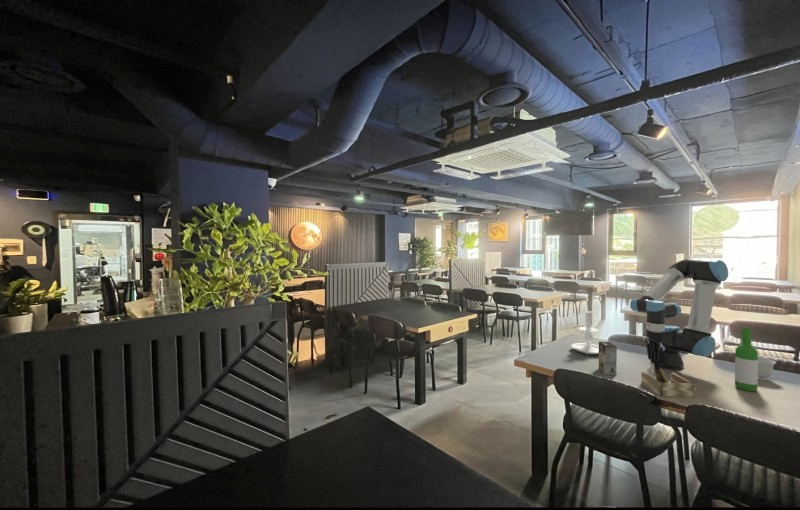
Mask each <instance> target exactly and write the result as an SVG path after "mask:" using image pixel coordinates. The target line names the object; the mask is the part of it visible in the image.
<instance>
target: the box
mask: <svg viewBox="0 0 800 510" xmlns="http://www.w3.org/2000/svg"><path fill="white" fill-rule="evenodd" d="M640 380H641V382H640V383H641V384H642V385H644V386H645V387H646V388H647V389H649V390H651V391H652V392H653V393H655V394H656V395H658V396H659V397H679V398H680V397H681V398H686V397H688V398H696V384H695V383H694V382H691V381H690V380H688V379H686V378H684V377H682V376H680V375H678V374H676V373H675V372H670V382H669V383H661V382H659V381H658V380H656V378H654V376H652V375H650V374H648V373H647V372H644V371H641V379H640Z"/></svg>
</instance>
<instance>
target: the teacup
mask: <svg viewBox="0 0 800 510" xmlns="http://www.w3.org/2000/svg"><path fill="white" fill-rule="evenodd" d="M776 364H777V362H776V361H775V360H773V359H770V358H767V357H761V356H759V355H758V377H759V378H758V380H760V381H766V380H767V378H769V377H771V376H772V374H773V371H774V370H773V369H774V365H776Z"/></svg>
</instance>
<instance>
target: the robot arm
mask: <svg viewBox="0 0 800 510" xmlns="http://www.w3.org/2000/svg"><path fill="white" fill-rule="evenodd" d="M728 277H729V270H728V266H727V264H726V263H725V262H724V261H723V260H721V259H713V258H710V259H709V258H685V259H682V260H679V261H677V262H675V263H674V264H672V265H670V266H669V267H668V268H667V269H666V270H665V272H664V275H662V277H661V278H659V280H657V282H655V284H653V285H652V287H650V288H649V289H648V290H647V291H646V292H645V293H644V294H643V295H642V296H641V297H640V298H633V299H632V300H631V301H630V303H629V306H630V309H631V311H633V312H636V313H642V314H646V331H645V332H646V337H647V338H648V339H647V340H646V339H645V340H644V343H645V345H646V353H647V358H648V360H650V364H651V376H652V377H656V375H655V370H658V369H660V368H664V369H667V370H669V369H670V370H682V369H684V367H685V366H684V365H685V364H684V361H683V358H682V355H681V352H682V353H686V354H689V355H693V356H696V357H702V358H704V357H708V356H710V355H711V354H713V353H714V351H715V347H716V339H715V338H714V337H713V336H712V332H711V331H710V330H709V329H710V324H711V323H710V322H711V316H712V311H713V306H714V301H715V294H716V290H717V288H718V287H719V286H721V283H722V282H725V281H727V279H728ZM686 279H691V280H692V282H693V283H694V291H693V295H692V296H693V297H692V301H691V305H690V306H691V307H690V312H689V315H688V317H689V318H688V323H687V325H686V326H684V327H683V330H682V329H681V327H680V326H677V325H666V323H665V322H666V321H665V320H666V319H668V318H676V317H679V316H680V315H681V314H682V308H681V306H680V305H679V304H678V303H677V302H671V301H670V302H664V301H662V299H663V298H664V297H665V296H666V295H667V294H668V293H669V292H671V290H672V289H674V287H675V286H676V285H678V284H679V283H680V282H683V281H684V280H686Z"/></svg>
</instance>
